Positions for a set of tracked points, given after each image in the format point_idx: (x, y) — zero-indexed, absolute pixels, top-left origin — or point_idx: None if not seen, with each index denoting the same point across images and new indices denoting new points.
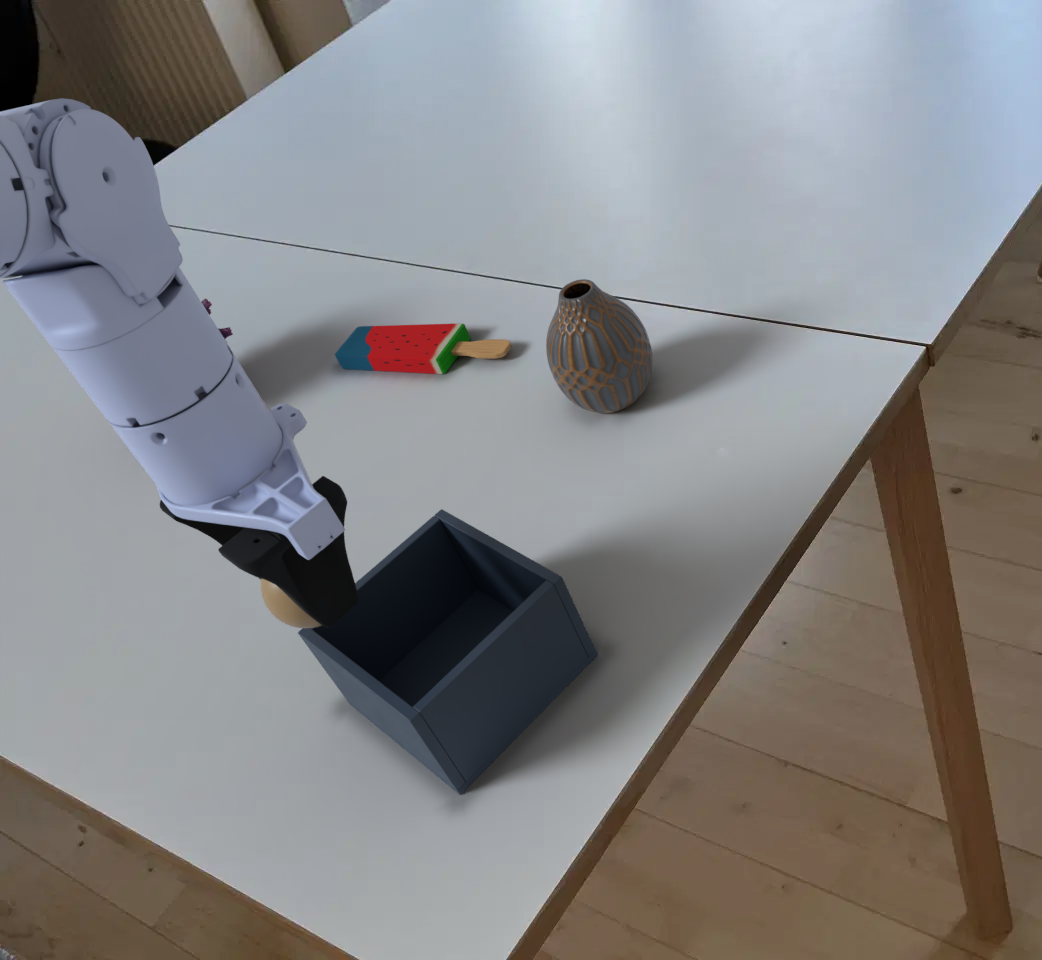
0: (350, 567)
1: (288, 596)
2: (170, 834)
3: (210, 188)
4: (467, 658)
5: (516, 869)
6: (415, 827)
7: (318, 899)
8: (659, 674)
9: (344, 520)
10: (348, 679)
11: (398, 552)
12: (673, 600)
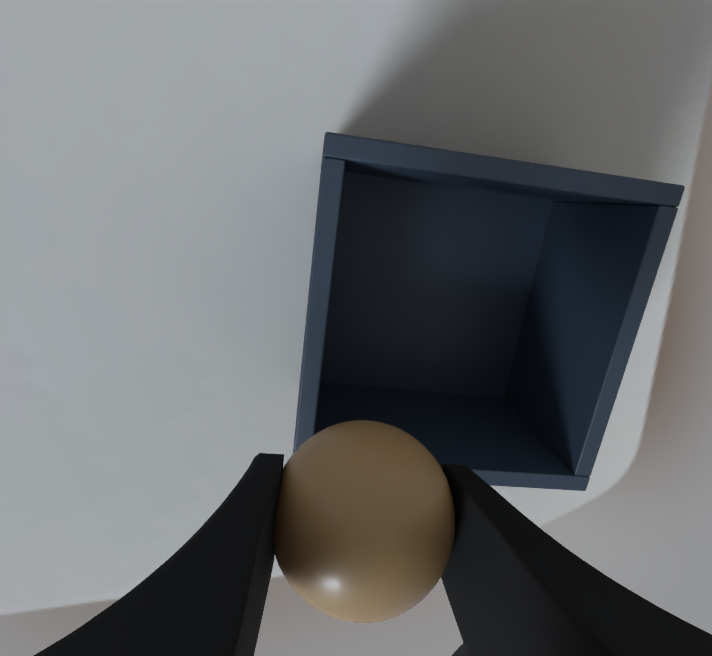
0: (410, 438)
1: (463, 636)
2: None
3: None
4: (607, 385)
5: (605, 430)
6: None
7: None
8: (651, 179)
9: (688, 623)
10: None
11: (328, 271)
12: (622, 57)
